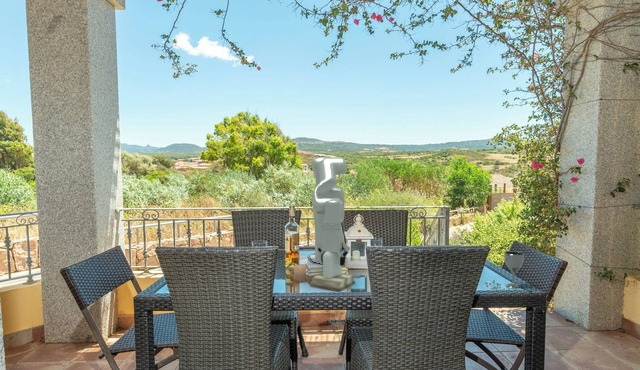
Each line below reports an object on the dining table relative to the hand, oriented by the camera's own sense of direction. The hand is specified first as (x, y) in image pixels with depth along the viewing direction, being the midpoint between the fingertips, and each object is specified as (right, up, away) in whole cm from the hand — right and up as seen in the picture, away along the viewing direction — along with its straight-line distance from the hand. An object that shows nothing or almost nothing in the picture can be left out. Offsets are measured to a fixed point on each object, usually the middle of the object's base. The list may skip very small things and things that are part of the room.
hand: (333, 263), depth 193 cm
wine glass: (+82, -10, -2) cm, 83 cm away
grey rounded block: (0, -6, +1) cm, 6 cm away
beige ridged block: (0, -10, +1) cm, 10 cm away
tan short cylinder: (-16, -10, +8) cm, 20 cm away
